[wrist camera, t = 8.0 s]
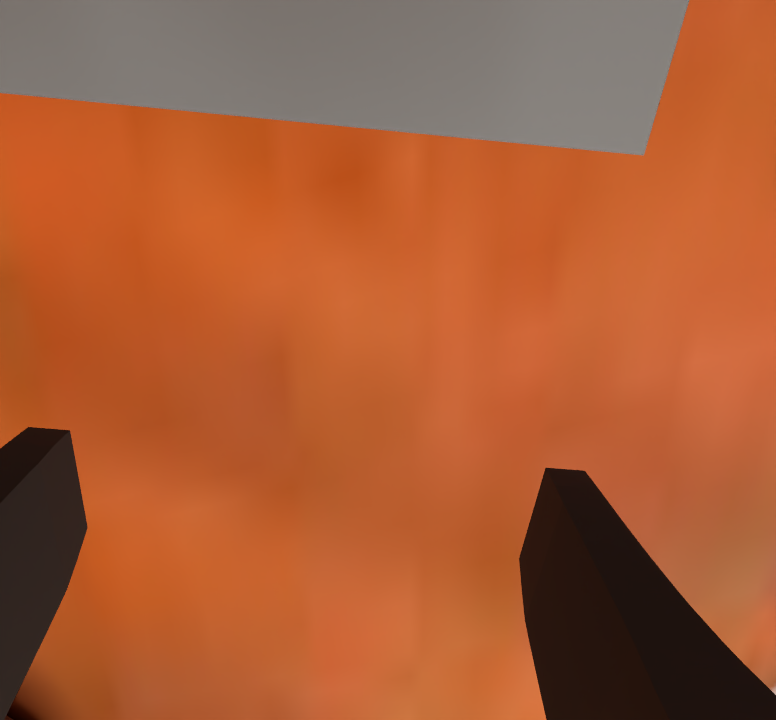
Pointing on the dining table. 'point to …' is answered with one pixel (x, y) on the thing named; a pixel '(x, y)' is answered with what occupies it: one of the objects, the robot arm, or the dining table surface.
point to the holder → (362, 62)
